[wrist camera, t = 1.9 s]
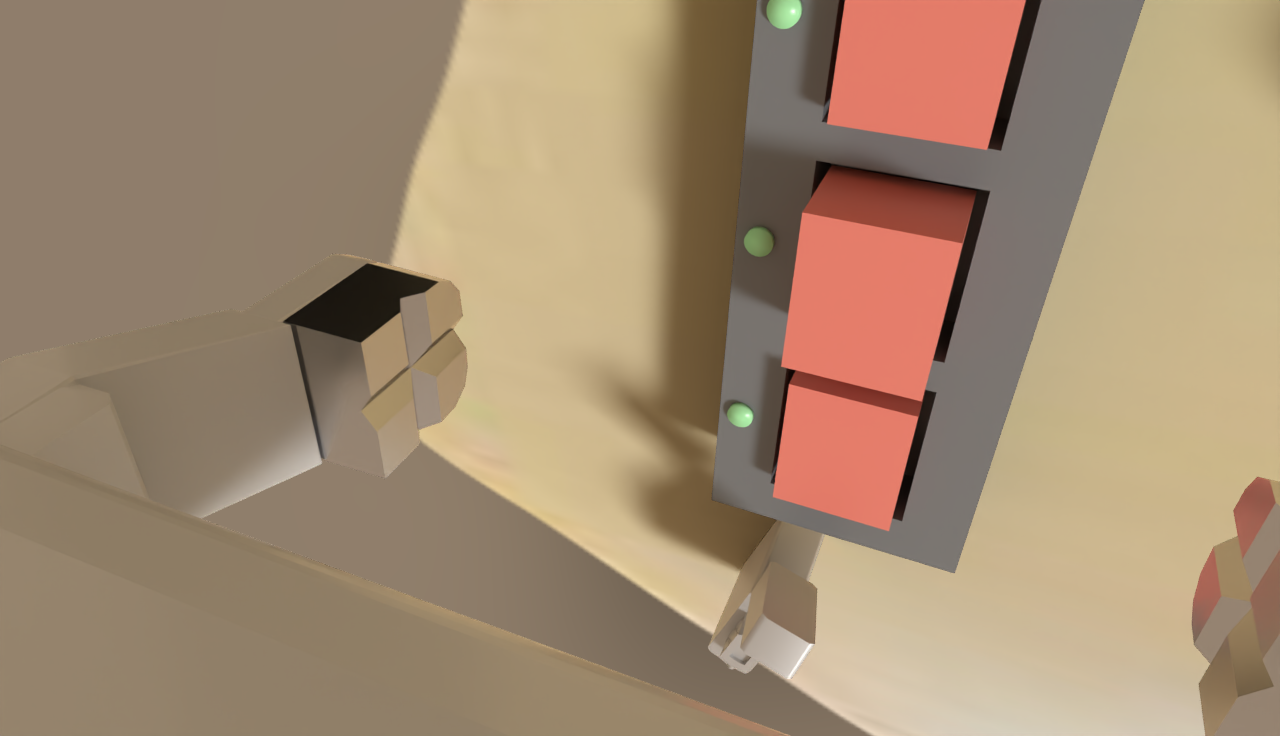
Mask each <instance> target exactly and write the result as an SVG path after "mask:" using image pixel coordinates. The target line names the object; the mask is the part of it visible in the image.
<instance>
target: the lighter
mask: <svg viewBox="0 0 1280 736" xmlns="http://www.w3.org/2000/svg"><path fill="white" fill-rule="evenodd" d="M824 535H825V534H823V533H819V532H816V531H813V530H809V529H806V528H803V527H799V526H796V525H793V524H789V523H786V522H783V521H780V520H776V522H775V523H774V524H773V526H772V527H771V528H770V530H769V531H768V532H767V534H766V535H765V537H764V538H763V539H762V541H761V542H760V543H759V545H758V546H757V547H756V549H755V550H754V551H753V553H752V554H751V555H750V557H749V558H748V559H747V561H746V562H745V564H744V565H743V567H742V569H741V572H740V574H739V576H738V579H737V581H736V583H735V586H734V588H733V590H732V593H731V595H730V597H729V600H728V602H727V604H726V606H725V609H724V611H723V613H722V616H721V618H720V620H719V623H718V625H717V627H716V630H715V632H714V634H713V637H712V639H711V642H710V644H709V646H708V648H709V650H710V652H712V653H713V654H715V655H717V656H718V657H719V658H720V659H722V660H723V661H724V662H725V663H727V667H728V668H729V669H734V668H735V669H737V670H738V671H741V672H743V673H745V674H746V673H747V672H750V671H751V670H752V669H753V668H754V666H755V665H756V664H757V663H758V662H760V663H761V664H763V665H765V666H766V667H768V668H770V669H771V670H773V671H775V672H776V673H778V674H780V675H781V676H783V677H785V678H788V679H792V677H793V676H794V674H795V673H796V671H797V670H798V668H799V667H800V665H801V664H802V662H803V661H804V659H805V658H806V656H807V655H808V653H809V652H810V650H811V649H812V647H813V646H814V644H815V629H816V606H817V588H816V587H815V586H814V585H813V584H812V583H810V582H808V581H809V578H810V576H811V573H812V570H813V567H814V564H815V561H816V558H817V555H818V552H819V550H820V547H821V544H822V541H823V538H824Z"/></svg>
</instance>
